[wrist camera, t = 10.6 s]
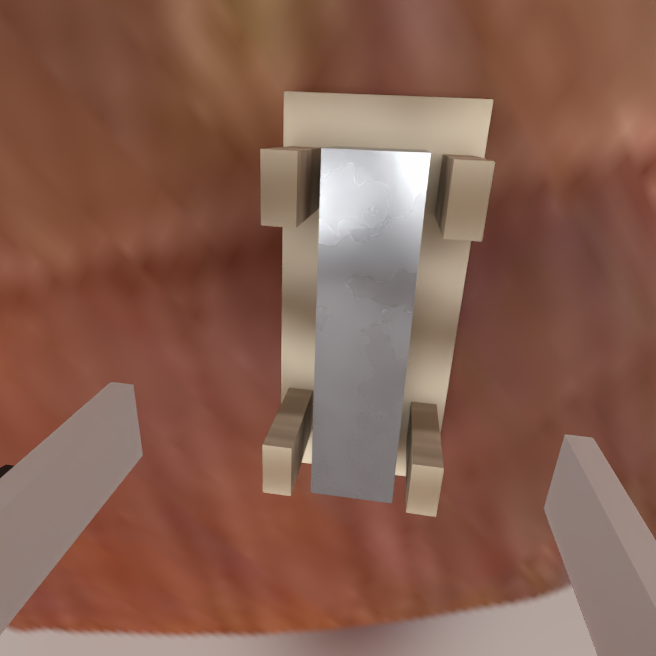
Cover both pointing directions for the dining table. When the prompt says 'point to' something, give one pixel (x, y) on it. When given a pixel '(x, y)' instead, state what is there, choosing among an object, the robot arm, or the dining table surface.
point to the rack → (433, 269)
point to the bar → (364, 314)
